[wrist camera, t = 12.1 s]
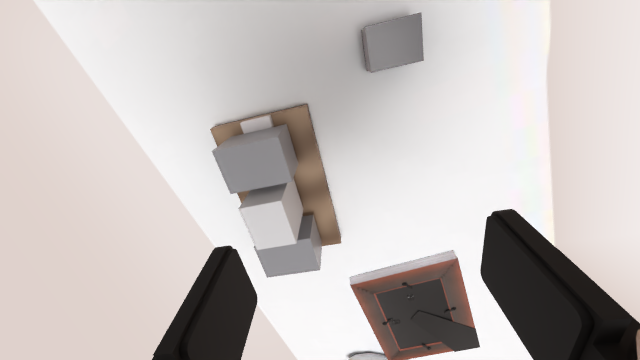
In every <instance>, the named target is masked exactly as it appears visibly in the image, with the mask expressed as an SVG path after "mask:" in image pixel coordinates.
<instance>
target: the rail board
mask: <svg viewBox="0 0 640 360" xmlns="http://www.w3.org/2000/svg"><path fill="white" fill-rule="evenodd" d="M284 124H287V127H288V131H289V134H290V137H291V141H292V144H293V147H294V151H295V154H296V158H297V161H298V166H297V169H296V172H295V175H294V181H295V184H296V187H297V190H298V194H299V197H300V200H301V203H302V206H303V214H302V216H308V215H314V218H315V222H316V225H317V229H318V232H319V235H320V239H321V242H322V246H326V245H333V244H339V243H341V236H340V232H339V228H338V224H337V220H336V216H335V212H334V208H333V204H332V200H331V196H330V192H329V189H328V185H327V181H326V177H325V173H324V169H323V165H322V161H321V157H320V153H319V149H318V145H317V141H316V137H315V133H314V129H313V126H312V122H311V118H310V114H309V110H308V106H307V104H305V105H301V106H297V107H293V108H289V109H285V110H280V111H276V112H272V113H268V114H264V115H260V116H255V117H251V118H247V119H243V120H239V121H235V122H230V123H226V124H222V125H218V126H215V127H213V128H211V129H210V130H211V132H212V135H213V137H214V139H215V142H216V144H217V146H219V145H221V144H222V143H223V142H224V141H226V140H227V139H228V138H229V137H232V136H237V135H241V134H245V133H250V132H254V131H258V130H263V129H267V128H271V127H276V126H280V125H284ZM249 191H250V190H248V191H243V192H238V193H237V194H238V196H239V198H240V201H241V203H243V201H244V199H245V198H246V196H247V195H248V193H249Z"/></svg>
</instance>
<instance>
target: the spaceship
mask: <svg viewBox="0 0 640 360" xmlns="http://www.w3.org/2000/svg"><path fill="white" fill-rule="evenodd" d="M349 360H388V359H387V357H386V355H382V354H376V353H364V354H356V355H354V356H352V357H350V358H349Z"/></svg>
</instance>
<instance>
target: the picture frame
mask: <svg viewBox="0 0 640 360" xmlns="http://www.w3.org/2000/svg"><path fill="white" fill-rule="evenodd" d="M350 286H351V288H352V290H353V292H354V294H355V296H356V297H357V299H358V301H359V303H360V305H361V307H362V309H363V311H364V313H365V315H366V317H367V319H368V321H369V323H370V325H371V327H372V329H373V331H374V333H375V335H376V337H377V339H378V341H379V343H380V345H381V347H382V349H383V351H384V353H385V355H386V357H387V359H388V360H406V359H411V358H417V357H422V356H428V355H433V354H439V353H445V352H450V351H455V352H456V351H461V350H467V349H472V348H478V347H480V345H479V341H478V337H477V333H476V329H475V326H474V322H473V318H472V314H471V310H470V306H469V302H468V298H467V294H466V290H465V286H464V282H463V278H462V274H461V270H460V266H459V262H458V258H457V256H456V255H455V253H454V251H453V250H452V251H448V252H444V253H440V254H436V255H433V256H429V257H425V258H421V259H417V260H413V261H409V262H406V263H402V264H398V265H394V266H390V267H386V268H383V269H379V270H375V271H371V272H367V273H363V274H359V275H356V276H352V277H350Z"/></svg>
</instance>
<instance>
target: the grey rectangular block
mask: <svg viewBox="0 0 640 360" xmlns="http://www.w3.org/2000/svg"><path fill="white" fill-rule="evenodd" d="M361 31H362V38H363V46H364V53H365V61H366V68H367V71H369V72H371V73H372V72H376V71H380V70H385V69H389V68H393V67H398V66H402V65H406V64H411V63H415V62H419V61H424V60H423V39H422V18H421V13H417V14H413V15H409V16H405V17H401V18H397V19H393V20H390V21H386V22H382V23H378V24H374V25H370V26H366V27H364V28H363V29H362V30H361Z"/></svg>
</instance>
